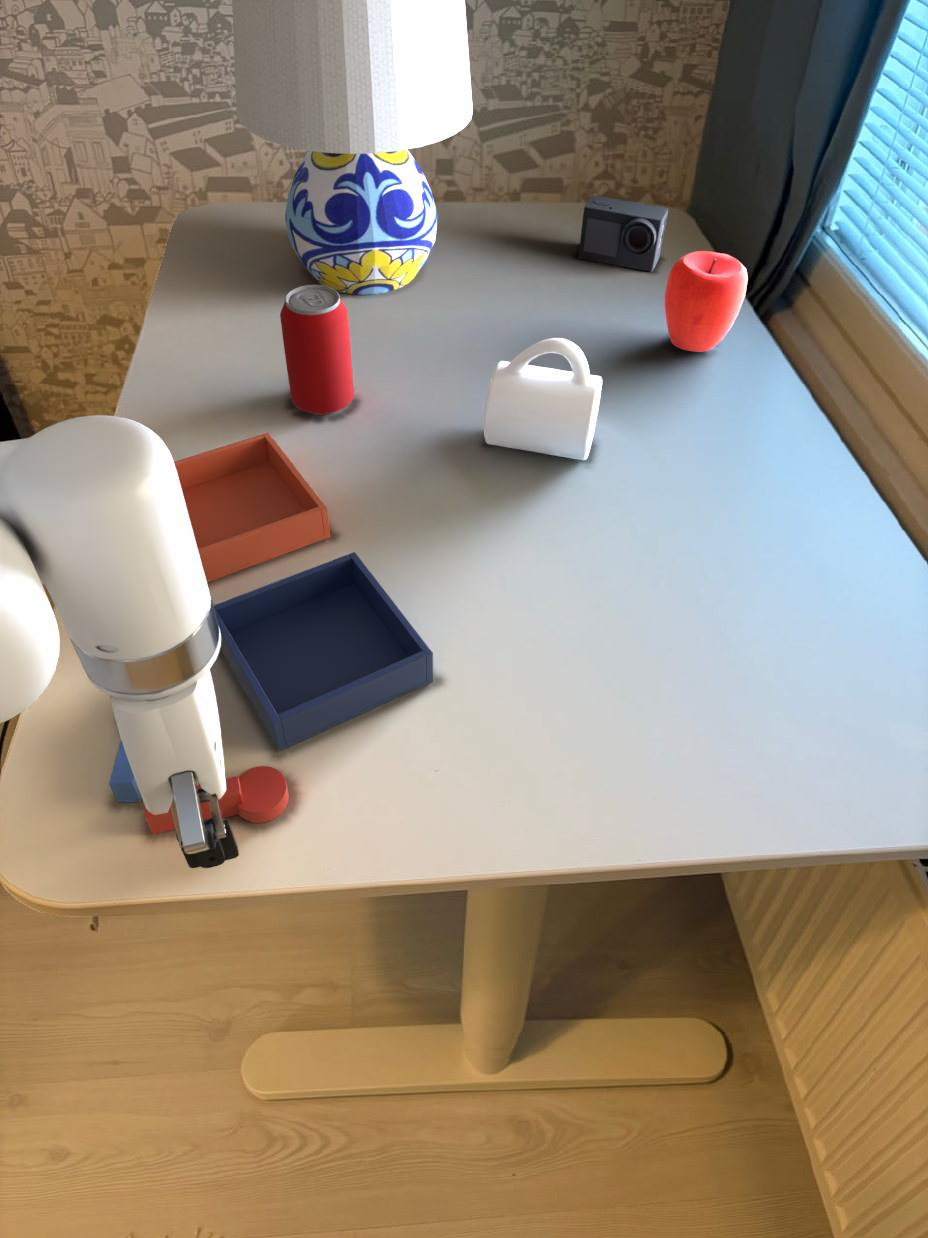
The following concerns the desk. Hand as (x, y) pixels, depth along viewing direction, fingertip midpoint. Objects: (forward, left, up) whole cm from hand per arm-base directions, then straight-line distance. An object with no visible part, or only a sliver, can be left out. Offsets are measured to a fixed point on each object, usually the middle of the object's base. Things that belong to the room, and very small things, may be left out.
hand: (206, 797), depth 63 cm
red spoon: (+1, 0, -2) cm, 2 cm away
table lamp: (+47, +67, -2) cm, 81 cm away
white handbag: (+45, +24, -2) cm, 51 cm away
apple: (+72, +31, -2) cm, 78 cm away
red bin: (+13, +28, -2) cm, 31 cm away
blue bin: (+13, +9, -2) cm, 16 cm away
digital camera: (+78, +53, -2) cm, 94 cm away
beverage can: (+29, +42, -2) cm, 51 cm away
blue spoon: (-2, +8, -2) cm, 8 cm away
